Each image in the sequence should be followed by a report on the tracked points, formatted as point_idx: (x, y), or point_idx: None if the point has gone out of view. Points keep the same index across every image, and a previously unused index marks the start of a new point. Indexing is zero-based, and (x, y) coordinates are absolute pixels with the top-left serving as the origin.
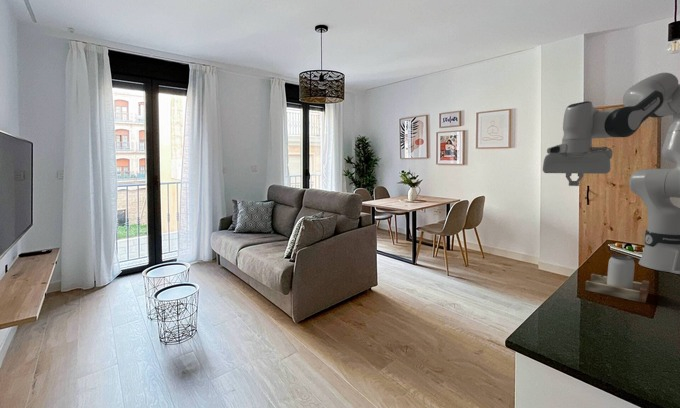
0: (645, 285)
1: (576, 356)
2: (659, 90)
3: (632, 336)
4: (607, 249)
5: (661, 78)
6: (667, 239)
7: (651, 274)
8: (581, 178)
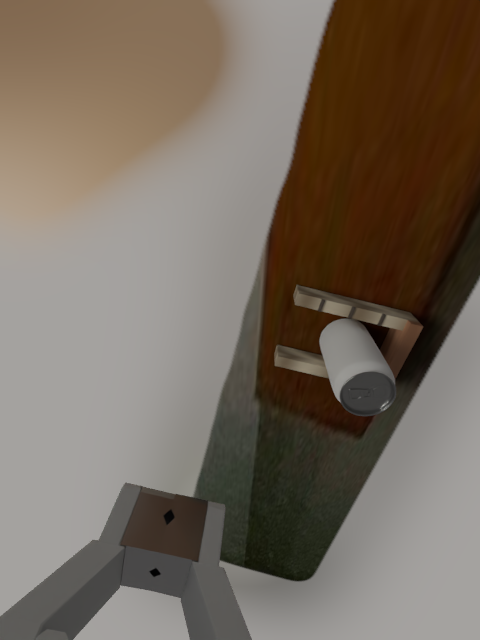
0: (398, 364)
1: (243, 551)
2: None
3: (311, 498)
4: None
5: None
6: None
7: None
8: (239, 627)
